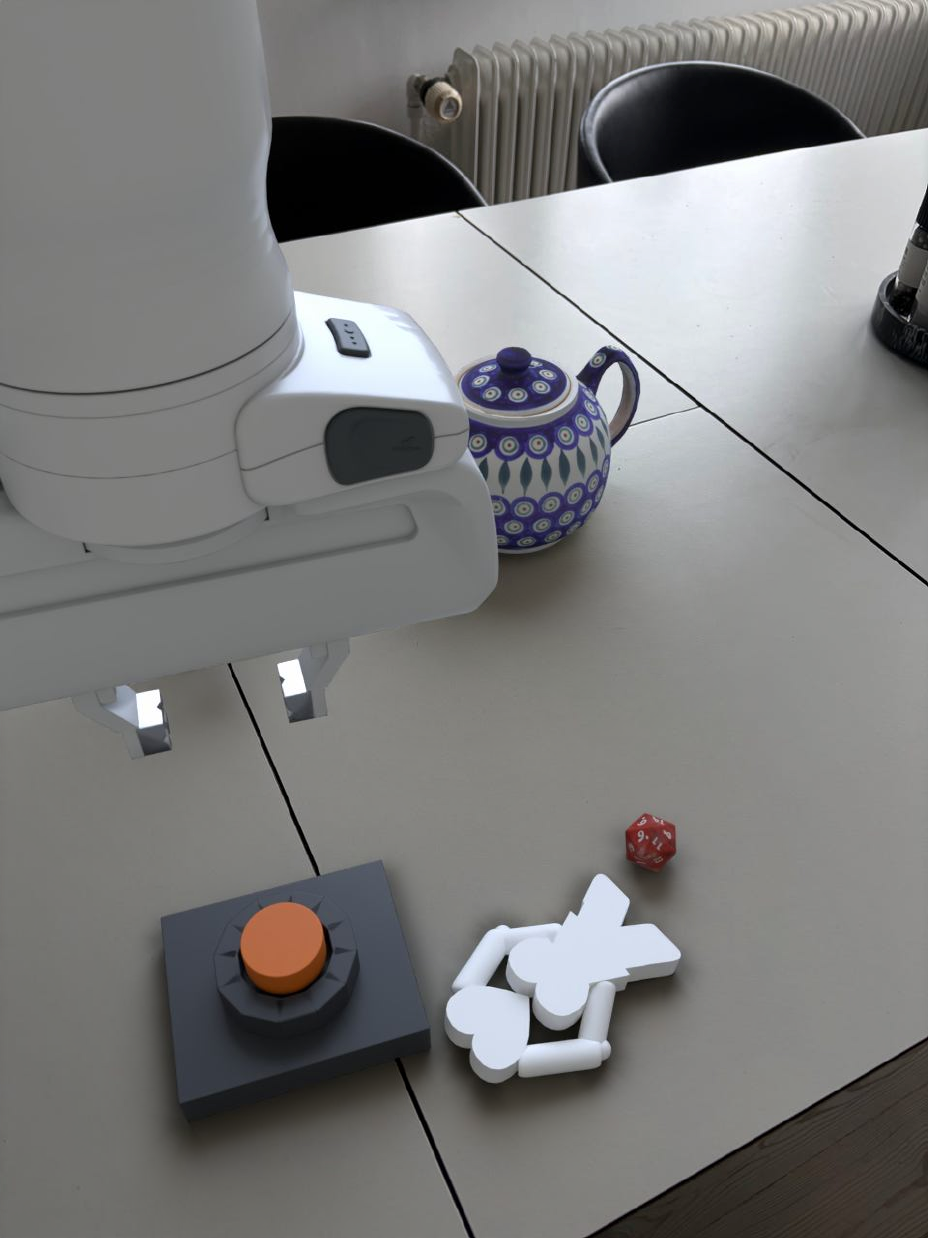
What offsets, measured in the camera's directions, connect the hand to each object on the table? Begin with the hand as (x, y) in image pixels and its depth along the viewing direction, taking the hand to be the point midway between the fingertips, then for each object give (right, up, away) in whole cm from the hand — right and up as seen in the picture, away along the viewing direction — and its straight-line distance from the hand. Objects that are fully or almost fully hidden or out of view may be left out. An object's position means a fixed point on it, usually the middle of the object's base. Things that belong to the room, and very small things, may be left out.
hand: (229, 724), depth 38 cm
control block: (0, -15, +14) cm, 21 cm away
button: (0, -13, +12) cm, 18 cm away
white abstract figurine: (+14, -16, +15) cm, 25 cm away
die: (+19, -10, +20) cm, 30 cm away
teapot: (+13, +12, +44) cm, 47 cm away
